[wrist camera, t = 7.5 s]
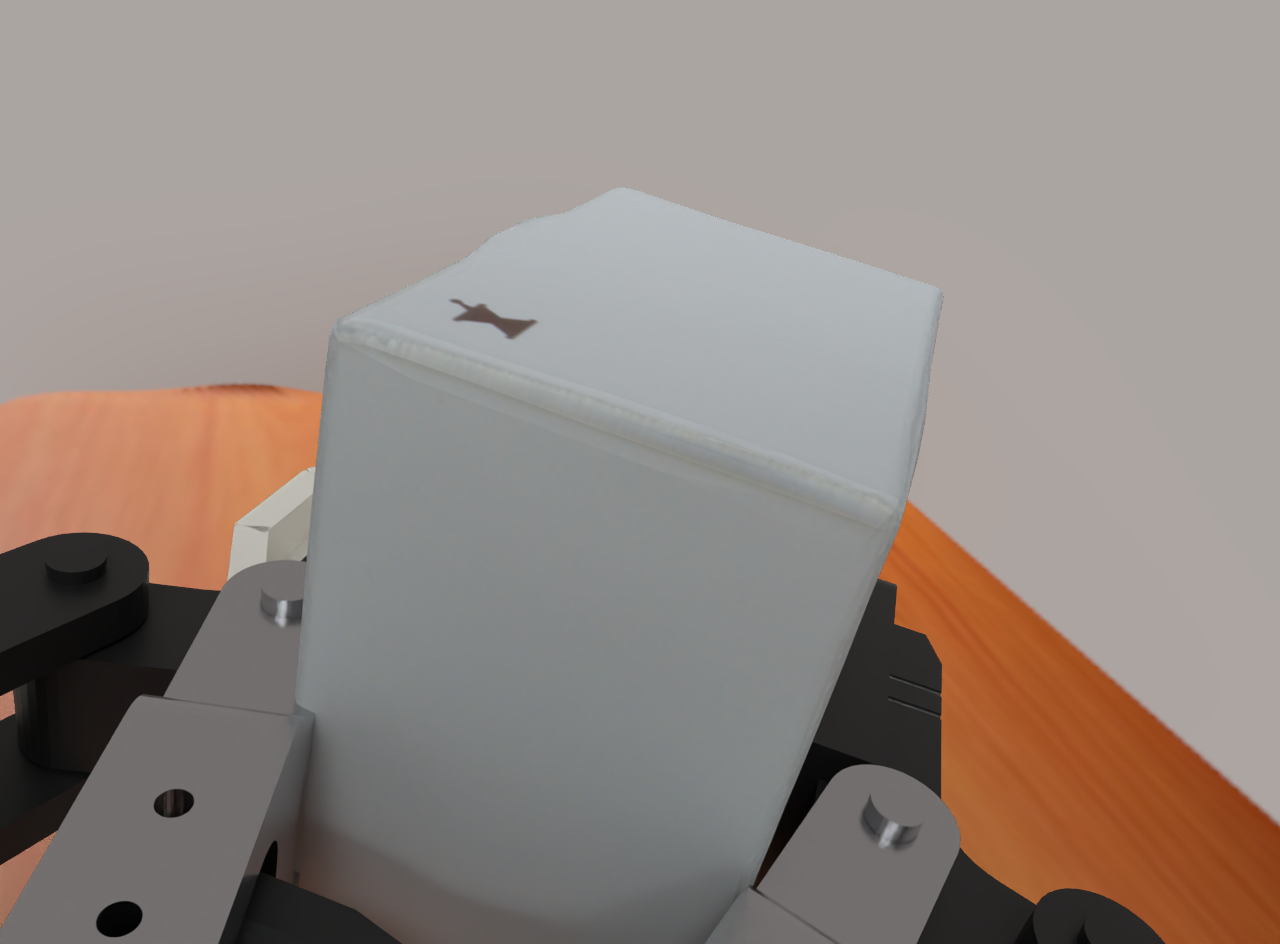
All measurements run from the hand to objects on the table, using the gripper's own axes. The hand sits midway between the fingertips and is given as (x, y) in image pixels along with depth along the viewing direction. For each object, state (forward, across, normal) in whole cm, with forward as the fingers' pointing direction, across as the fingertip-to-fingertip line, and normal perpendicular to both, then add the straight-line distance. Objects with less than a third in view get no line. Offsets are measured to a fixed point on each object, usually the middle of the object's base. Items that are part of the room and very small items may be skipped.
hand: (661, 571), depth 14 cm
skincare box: (-3, 0, +7) cm, 8 cm away
